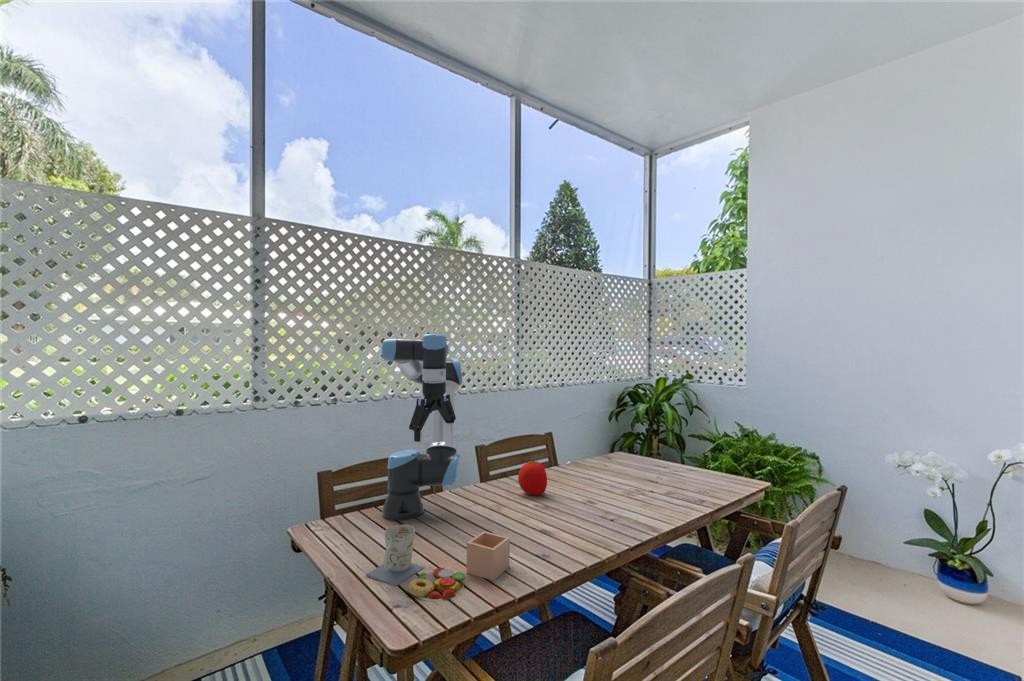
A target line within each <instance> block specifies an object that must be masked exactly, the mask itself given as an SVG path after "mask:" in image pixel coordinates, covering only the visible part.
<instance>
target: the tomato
mask: <svg viewBox="0 0 1024 681" xmlns="http://www.w3.org/2000/svg"><path fill="white" fill-rule="evenodd" d="M517 476H518V478H517V480H518V484H519V487H520V489H521V490H522V491H523V492H524V493H526V494H528V495H531V496H541V495H543V494H544V493H545V492H546V490H547V486H548V476H547V471H546V469H545V466H544V464H543V463H541V462H540V461H535V460H532V461H531V460H529V461H528V462H526V463H524V464H523V465H522V466H521V467H520V469H519V472H518V475H517Z"/></svg>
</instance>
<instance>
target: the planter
mask: <svg viewBox="0 0 1024 681" xmlns="http://www.w3.org/2000/svg"><path fill="white" fill-rule="evenodd" d="M510 541H511V538H510V537H507V536H504V535H499V534H496V533H493V532H490V531H489V532H488V531H485V530H484V531H482V532H481V533H480V534H478V535H476V536H475V537H473V538H471V539H470V540H468V541H467V542H466V574H469V575H472V576H476V577H479V578H484V579H487V580H490V581H495V580H496V578H498V577H499V576H500V575H501V574H502V573H504V572H505V571H506V570H508V569H509V567H510V559H511V558H510V554H511V553H510V551H511V550H510V548H511V547H510V546H511V543H510Z"/></svg>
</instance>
